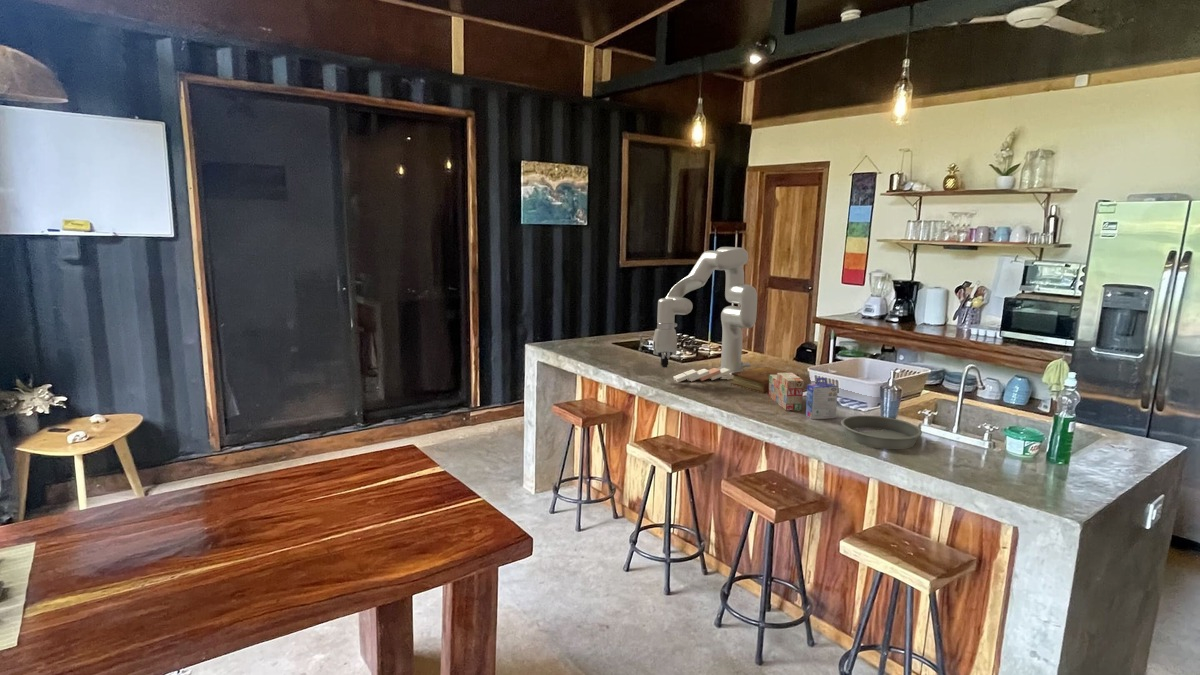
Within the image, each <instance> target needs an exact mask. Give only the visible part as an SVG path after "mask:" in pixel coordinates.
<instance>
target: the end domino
mask: <svg viewBox="0 0 1200 675" xmlns="http://www.w3.org/2000/svg"><path fill="white" fill-rule="evenodd" d="M719 378H720V380H721V379H727V380H733V375H731V373H730V374H727V375H725V376H722V377H719ZM719 378H718V379H719Z"/></svg>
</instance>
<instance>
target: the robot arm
mask: <svg viewBox="0 0 1200 675" xmlns="http://www.w3.org/2000/svg"><path fill="white" fill-rule="evenodd" d="M748 260H749V253H748V251H747V250H746V249H745V248H743V247H737V246H736V247H735V246H720V247H719V248H717V249H715V250H705V251H704V252H702V253H701V255H700V257H699V258H698V259H697V261H696V263H695V264H694V266H693V267H692V269H691V271H690V272H689V273H688V275H686V276H685V277H684V278H682V279H681V280H679V281H678V282H676V284H674V285H673V286H672V287H671V289H670V290H669V292H668V293H667V295H666V296H665V297H662V298H658V301H657V316H656V318H657V319H656V320H657V322H656V323H657V324H656V328H655V329H654V333H653V338H652V339H653V341H652V349H653V352H652V353H653V355H656V356H658V357H659V358H660V366H661V367H662V368H664V369H665V368H668V365H669V359H670V357H672V356H673V355H676V354H678V352H677V350H678V340H677V338H678V337H677V331H676V329H675V328H676V327H678V323H676V322H675V316H676V315H681V316H685V315H688V314H690V313H691V312H692V310H693V306H694V305H693V302H692V301H691V300H690V298H689V299H688V298H686V297H684V296H685V295H686V294H688V293H690V292H693V291H695V290H697V289H700V288H701V287H702V288H703V287H704V286H705V285H706V283H707V282H708V279H709V278H710V277H711V275H712V273H713V272H714V271H715V270H716V271H724V272H725V287H724V288H725V289H724V290H725V291H724V297H725V300H726V302H728V303H730V304H735V305H736V306H735V305H728V306H725V307H724V308H723V309H722V311H721V313H720V321H721V327H722V330H721V331H722V332H721V333H722V337H721V354H720V355H721V356H720V366H718V367H717V369H722V368H726V369H729V370H730V372H731V373H734V372H739V371H745V368H750V367H751V363H750V362H744V361H742V356H743V355H742V353H743V351H742V350H743V331H742V329H751V328H753V327H754V325H755V323H756V321H757V313H758V312H757V311H758V292H757V290H756V288H755V287H754V286H753V285H751V284H745V271H744V268H743V266H745V265H746V264H747V263H748ZM737 305H740V306H737Z"/></svg>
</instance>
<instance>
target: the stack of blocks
mask: <svg viewBox="0 0 1200 675" xmlns="http://www.w3.org/2000/svg"><path fill="white" fill-rule="evenodd" d="M795 374H796V373H794V374H793V372H790V373H777V375H769V392H768V397H769V396H770V397H769V398H770V399H771V398H772V399H771V400H773V401H774V402H775V401H776V402H777V403H778V404H777V403H776V402H775V403H776V404H777V405H779V406H780V408H782V407H783V408H784V409H785V410H801V411H802V407H803V397H804V396H803V395H804V385H805V384H804V383H805V381H804V380H803V379H802V378H801V377H800V376H799V377H798V376H796V375H795ZM783 408H782V409H783ZM784 409H783V410H784ZM785 410H784V411H785Z"/></svg>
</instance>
